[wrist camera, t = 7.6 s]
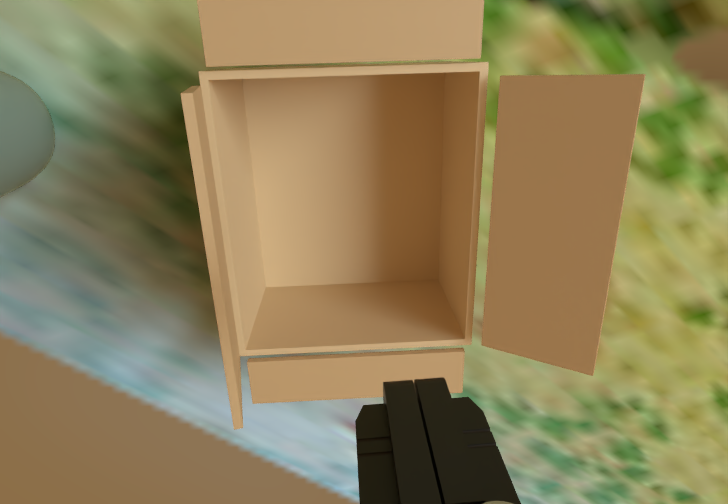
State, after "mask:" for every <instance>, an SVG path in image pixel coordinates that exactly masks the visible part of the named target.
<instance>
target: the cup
mask: <svg viewBox="0 0 728 504" xmlns="http://www.w3.org/2000/svg"><path fill="white" fill-rule="evenodd" d="M54 148H55V131H54V125H53V122H52V118H51V115H50V113H49V111H48V109H47V107H46V105H45V104H44V102H43V101H42V99H41V98H40V97H39V95H38V94H37V93H36V92H35V91H34V90H33V89H32V88H31V87H30V86H28V85H27V84H25V83H24V82H22V81H21V80H19V79H18V78H16V77H14V76H11V75H9V74H7V73H4V72H2V71H0V197H2V196H4V195H6V194H8V193H10V192H12V191H14V190H16V189H18V188H20V187H21V186H23V185H25V184H27V183H28V182H30V181H31V180H33V179H34V178H35V177H36V176H37V175H38V174H39V173H40V172H42V171H43V170H44V169H45V168H46V166H47V165H48V163H49V161H50V159H51V157H52V156H53V152H54Z"/></svg>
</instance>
